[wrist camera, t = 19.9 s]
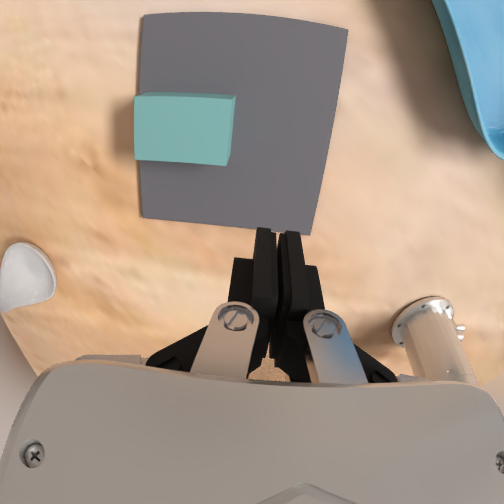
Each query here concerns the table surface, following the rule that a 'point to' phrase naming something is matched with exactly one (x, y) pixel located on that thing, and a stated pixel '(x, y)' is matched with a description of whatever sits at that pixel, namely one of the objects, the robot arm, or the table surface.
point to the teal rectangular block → (183, 127)
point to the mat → (246, 115)
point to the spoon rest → (25, 276)
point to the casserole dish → (478, 62)
